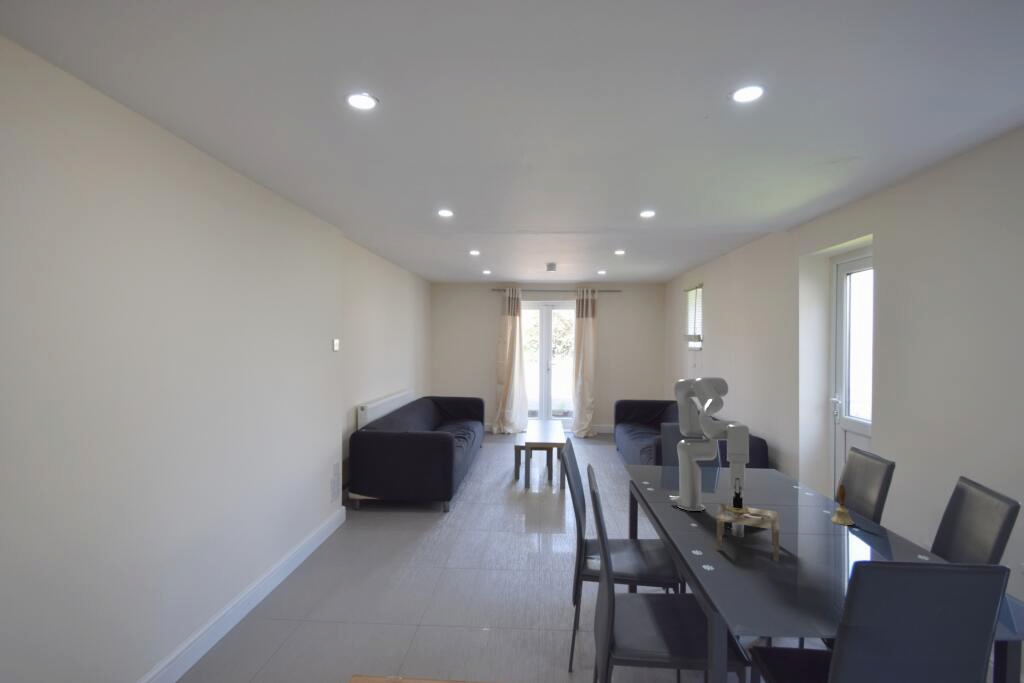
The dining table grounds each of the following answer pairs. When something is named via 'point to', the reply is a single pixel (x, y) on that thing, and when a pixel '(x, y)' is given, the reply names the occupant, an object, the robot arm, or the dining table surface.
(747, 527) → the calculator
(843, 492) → the hand bell
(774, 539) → the shelf
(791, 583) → the dining table surface
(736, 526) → the peg
